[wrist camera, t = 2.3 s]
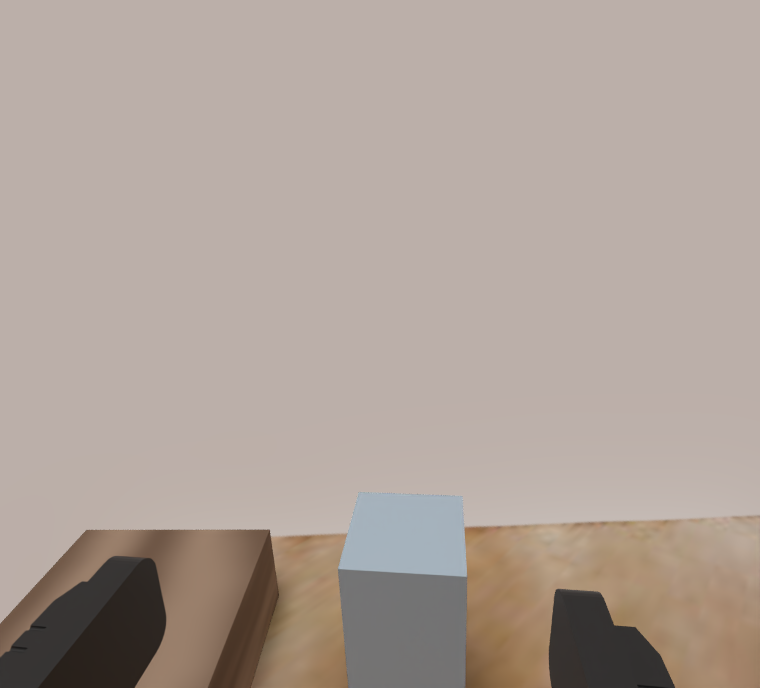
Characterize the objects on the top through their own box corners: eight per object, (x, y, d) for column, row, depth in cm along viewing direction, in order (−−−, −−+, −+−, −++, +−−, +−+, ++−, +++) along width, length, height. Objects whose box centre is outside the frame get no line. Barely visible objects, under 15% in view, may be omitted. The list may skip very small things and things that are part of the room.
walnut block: (279, 598, 35) (269, 529, 33) (210, 824, 23) (188, 735, 21) (105, 597, 36) (86, 529, 34) (-53, 815, 23) (-96, 728, 22)
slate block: (460, 665, 29) (462, 496, 25) (463, 769, 24) (467, 576, 20) (370, 657, 30) (358, 492, 26) (354, 757, 25) (338, 569, 21)
